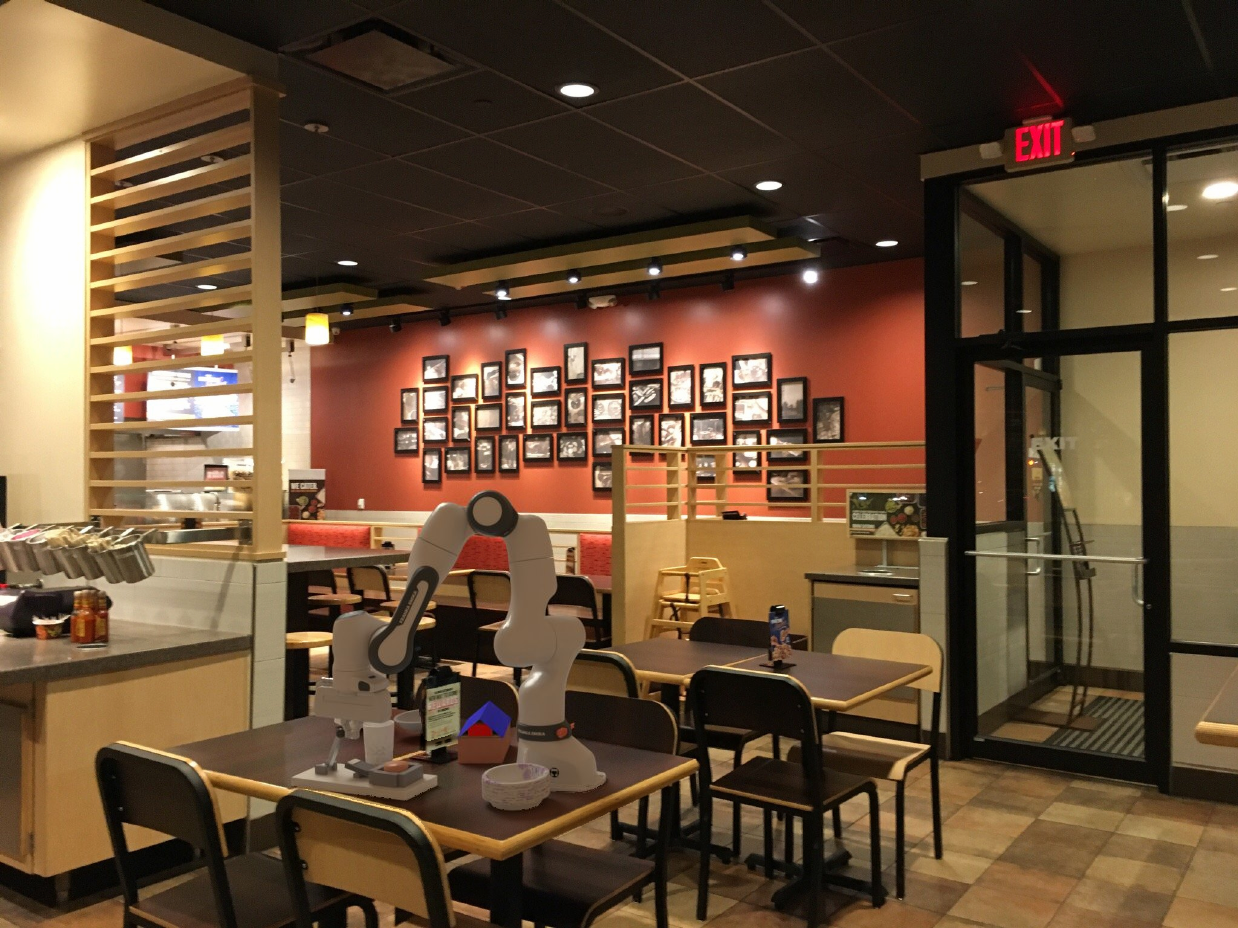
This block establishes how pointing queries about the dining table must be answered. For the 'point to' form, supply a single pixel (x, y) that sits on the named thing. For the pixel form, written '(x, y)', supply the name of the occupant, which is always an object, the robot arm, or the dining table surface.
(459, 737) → the house
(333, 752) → the toggle lever
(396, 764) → the push button
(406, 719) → the dish
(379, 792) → the console
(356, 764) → the rocker switch
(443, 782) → the dining table surface
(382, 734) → the white cup
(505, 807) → the paper bowls
